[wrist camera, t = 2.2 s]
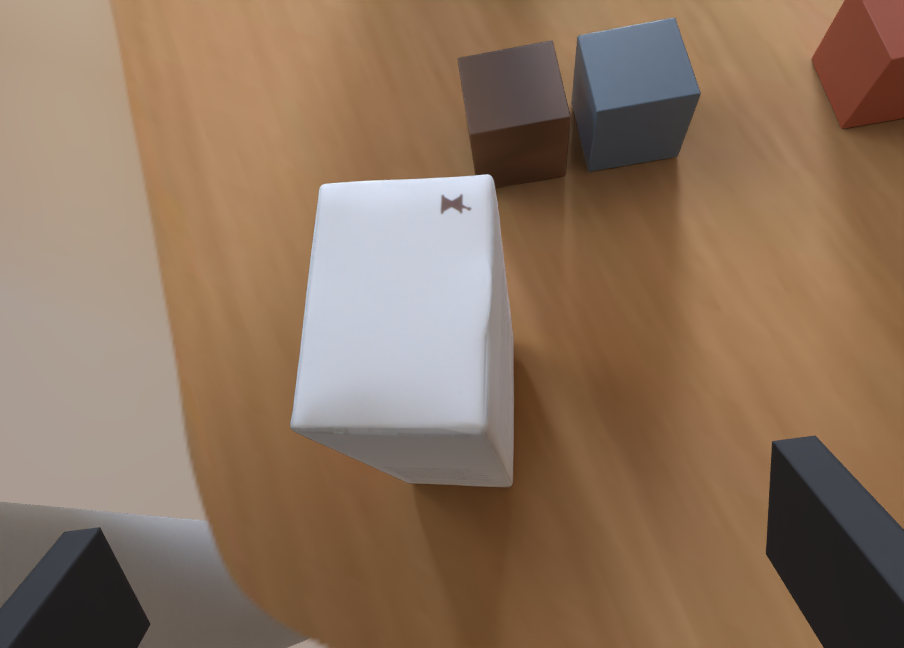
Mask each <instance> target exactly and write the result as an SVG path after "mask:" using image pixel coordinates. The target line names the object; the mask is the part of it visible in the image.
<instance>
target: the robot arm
mask: <svg viewBox="0 0 904 648" xmlns="http://www.w3.org/2000/svg"><path fill="white" fill-rule="evenodd" d="M766 555H767V556H768V558H769V560H770V561H771V563H772V565H773V566H774V568H775V569H776V571H777V573H778V574H779V576H780V577H781V579H782V581H783V582H784V584H785V586H786V587H787V589H788V590H789V592H790V594H791V595H792V597H793V599H794V600H795V602H796V603H797V605H798V607H799V608H800V610H801V611H802V613H803V615H804V616H805V618H806V620H807V621H808V623H809V624H810V626H811V628H812V629H813V631H814V633H815V634H816V636H817V637H818V639H819V641H820V642H821V644H822V646H823V647H824V648H904V529H903V528H902V527H901V526H900V525H899V524H898V523H897V522H896V521H895V520H894V519H893V518H892V517H891V515H890V514H889V513H888V512H887V511H886V510H885V509H884V508H883V507H882V506H881V505H880V504H879V503H878V502H877V501H876V500H875V499H874V497H873V496H872V495H871V494H870V493H869V492H868V491H867V490H866V489H865V488H864V487H863V486H862V485H861V484H860V483H859V482H858V480H857V479H856V478H855V477H854V476H853V475H852V474H851V473H850V472H849V471H848V470H847V469H846V468H845V467H844V466H843V465H842V463H841V462H840V461H839V460H838V459H837V458H836V457H835V456H834V455H833V454H832V453H831V452H830V451H829V450H828V449H827V448H826V446H825V445H824V444H823V443H822V442H821V441H820V440H819V439H818V438H817V437H816V436H809V437H801V438H794V439H786V440H778V441H772V454H771V472H770V490H769V508H768V526H767V544H766ZM149 626H150V622H149V620H148V619H147V617H146V615H145V613H144V611H143V609H142V607H141V605H140V603H139V601H138V599H137V597H136V596H135V594H134V592H133V590H132V588H131V586H130V584H129V582H128V580H127V578H126V576H125V574H124V572H123V571H122V569H121V567H120V565H119V563H118V561H117V559H116V557H115V555H114V553H113V551H112V549H111V548H110V546H109V544H108V542H107V540H106V538H105V536H104V534H103V532H102V530H101V528H92V529H84V530H76V531H68V532H64V533H63V534H62V535H61V537H60V538H59V539H58V540H57V541H56V543H55V544H54V545H53V546H52V547H51V549H50V550H49V551H48V552H47V553H46V555H45V556H44V557H43V558H42V559H41V561H40V562H39V563H38V564H37V565H36V567H35V568H34V569H33V570H32V571H31V573H30V574H29V575H28V576H27V577H26V579H25V580H24V581H23V582H22V583H21V584H20V586H19V587H18V588H17V589H16V590H15V592H14V593H13V594H12V595H11V596H10V598H9V599H8V600H7V601H6V602H5V604H4V605H3V606H2V607H1V608H0V648H138V646H139V644H140V642H141V640H142V638H143V637H144V635H145V633H146V631H147V629H148V627H149Z"/></svg>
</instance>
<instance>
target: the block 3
mask: <svg viewBox="0 0 904 648" xmlns="http://www.w3.org/2000/svg"><path fill="white" fill-rule="evenodd" d="M812 62H813V65H814V67H815V69H816V71H817V74H818V76H819V78H820V81H821V83H822V85H823V87H824V90H825V92H826V94H827V97H828V99H829V101H830V103H831V106H832V108H833V110H834V113H835V115H836V117H837V120H838V122H839V124H840V126H841V128H842V129H844V128H850V127H855V126H861V125H867V124H873V123H879V122H885V121H891V120H896V119H902V118H904V0H845V1H844V2H843V4H842V6H841V8H840V9H839V11H838V13H837V15H836V17H835V18H834V20H833V22H832V24H831V25H830V27H829V29H828V31H827V32H826V34H825V36H824V38H823V39H822V41H821V43H820V45H819V47H818V48H817V50H816V52H815V54H814V55H813V57H812Z"/></svg>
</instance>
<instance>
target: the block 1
mask: <svg viewBox="0 0 904 648" xmlns="http://www.w3.org/2000/svg"><path fill="white" fill-rule="evenodd" d="M458 65H459V72H460V78H461V85H462V91H463V98H464V104H465V111H466V117H467V124H468V130H469V137H470V143H471V150H472V156H473V163H474V169H475V176H476V175H486V174H488V175H490V176H491V177H492V178H493V180H494V185H495V188H498V187H504V186H509V185H515V184H521V183H527V182H533V181H539V180H545V179H550V178H556V177H562V176H565V174H566V163H567V151H568V140H569V128H570V112H569V108H568V104H567V100H566V95H565V91H564V87H563V83H562V78H561V74H560V70H559V65H558V61H557V57H556V53H555V48H554V44H553V41H546V42H541V43H536V44H530V45H525V46H520V47H514V48H509V49H504V50H498V51H493V52H488V53H482V54H477V55H472V56H466V57H461V58H458Z"/></svg>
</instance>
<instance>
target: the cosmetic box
mask: <svg viewBox="0 0 904 648" xmlns="http://www.w3.org/2000/svg"><path fill="white" fill-rule="evenodd" d="M291 429H292V430H293V431H294V432H296V433H298V434H300V435H303V436H305V437H307V438H309V439H311V440H313V441H316V442H318V443H320V444H322V445H325V446H327V447H329V448H331V449H334V450H336V451H338V452H340V453H343V454H345V455H347V456H349V457H351V458H354V459H356V460H358V461H361V462H363V463H365V464H367V465H369V466H371V467H374V468H376V469H378V470H380V471H382V472H385V473H387V474H389V475H391V476H394V477H396V478H398V479H400V480H402V481H404V482H407V483H416V484H442V485H464V486H485V487H510V486H512V484H513V454H514V338H513V330H512V321H511V313H510V305H509V298H508V290H507V282H506V273H505V264H504V255H503V248H502V239H501V229H500V217H499V211H498V203H497V197H496V191H495V185H494V180H493V178H492V177H491V176H490V175H488V174H486V175H476V176H462V177H445V178H425V179H401V180H379V181H357V182H343V183H331V184H323V185H322V186H321V187H320V189H319V198H318V205H317V213H316V220H315V228H314V236H313V244H312V252H311V260H310V269H309V277H308V285H307V294H306V304H305V313H304V322H303V331H302V340H301V349H300V357H299V365H298V372H297V381H296V389H295V397H294V405H293V413H292V418H291Z"/></svg>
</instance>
